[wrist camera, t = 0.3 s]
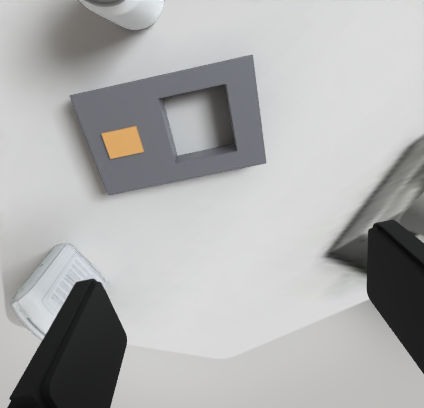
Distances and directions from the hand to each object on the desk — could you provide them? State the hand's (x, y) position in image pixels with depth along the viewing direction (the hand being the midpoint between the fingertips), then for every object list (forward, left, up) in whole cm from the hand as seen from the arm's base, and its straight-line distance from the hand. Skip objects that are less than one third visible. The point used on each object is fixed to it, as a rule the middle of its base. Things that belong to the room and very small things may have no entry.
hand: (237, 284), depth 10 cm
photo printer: (+17, -24, -30) cm, 42 cm away
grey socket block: (-1, -4, -30) cm, 30 cm away
